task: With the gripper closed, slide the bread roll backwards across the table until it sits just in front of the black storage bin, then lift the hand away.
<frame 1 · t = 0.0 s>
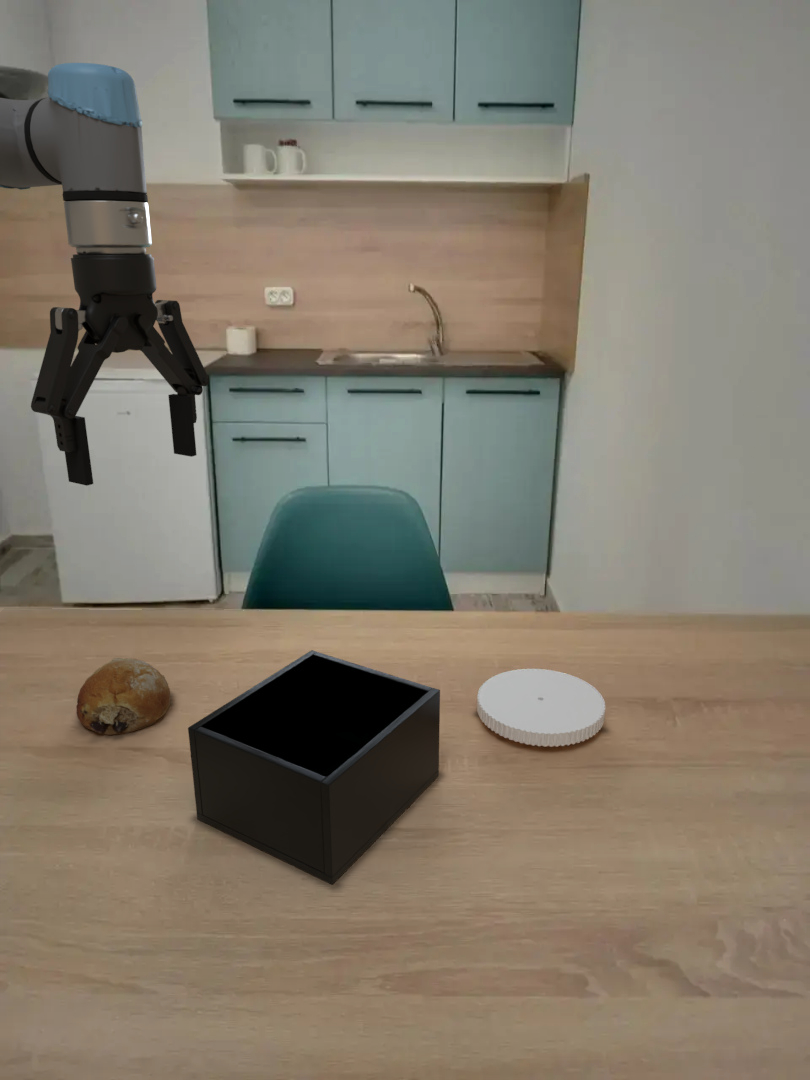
hand: (136, 468, 86), 28 cm above the table, tool pointing down, fingers open, 13 cm apart
plastic lid: (539, 720, 93), on the table
black storage bin: (322, 797, 80), on the table
bread roll: (125, 715, 94), on the table
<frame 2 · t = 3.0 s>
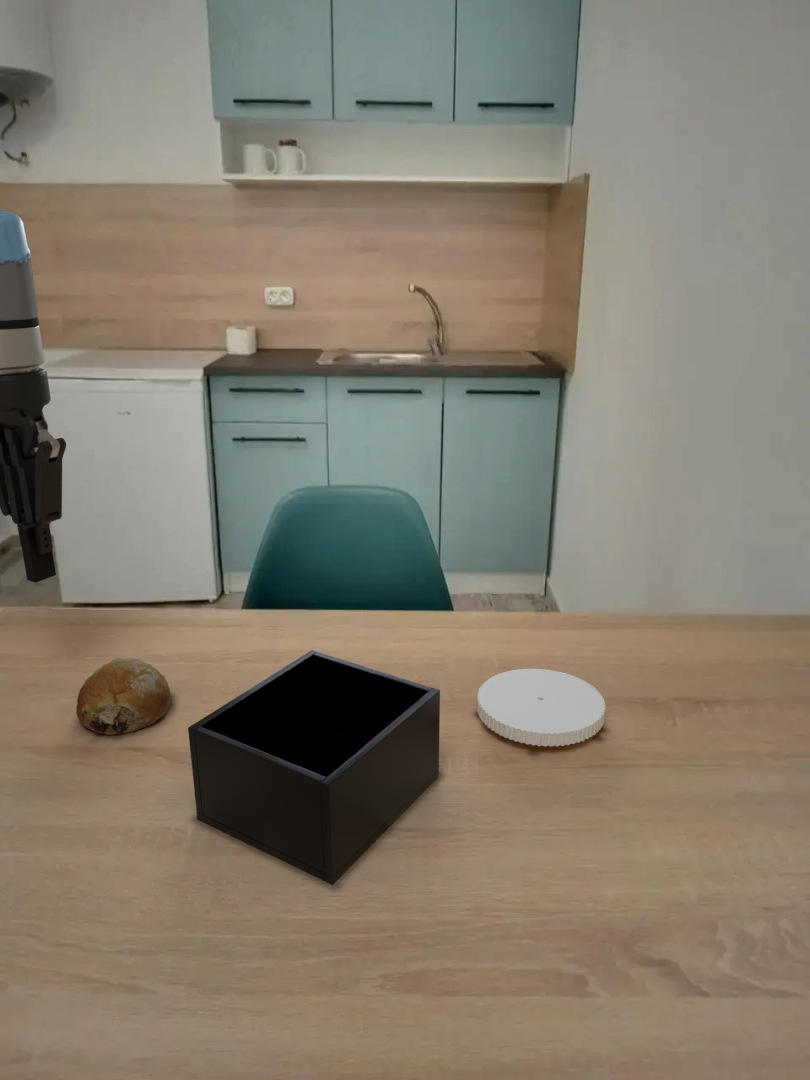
hand: (41, 577, 95), 14 cm above the table, tool pointing down, fingers closed
nothing on the table moved.
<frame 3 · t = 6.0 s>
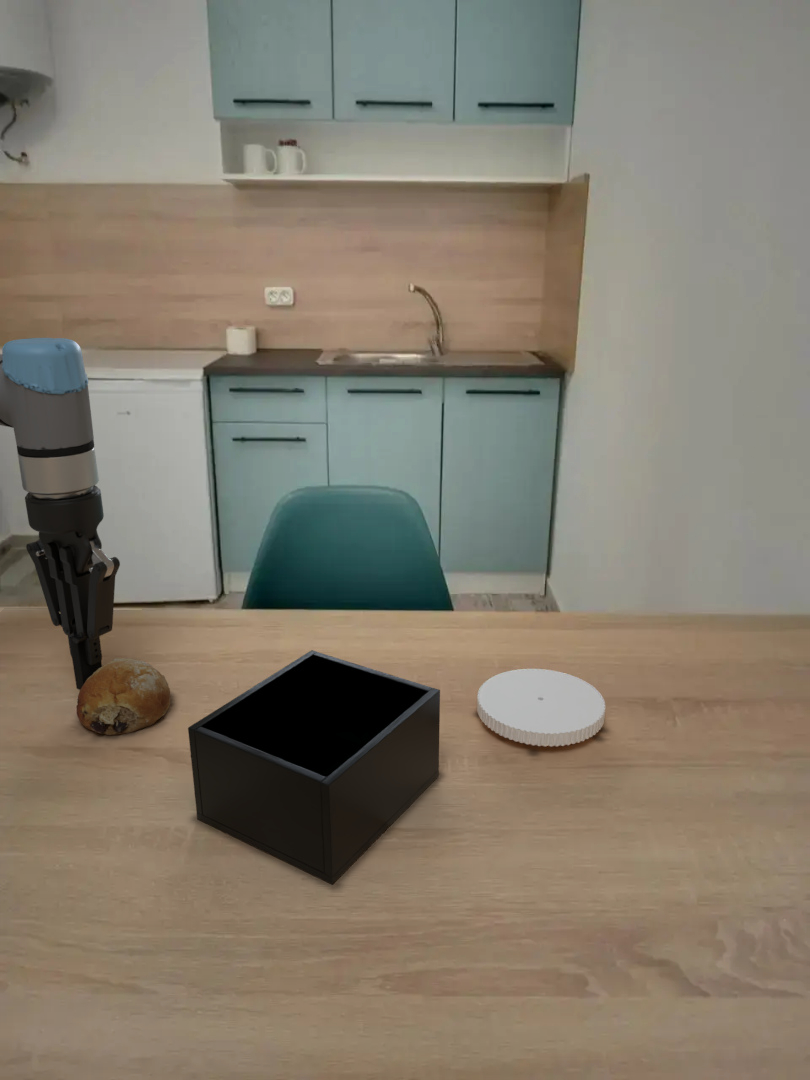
hand: (90, 685, 96), 2 cm above the table, tool pointing down, fingers closed
bread roll: (125, 715, 94), on the table, touching gripper
everything else where it was.
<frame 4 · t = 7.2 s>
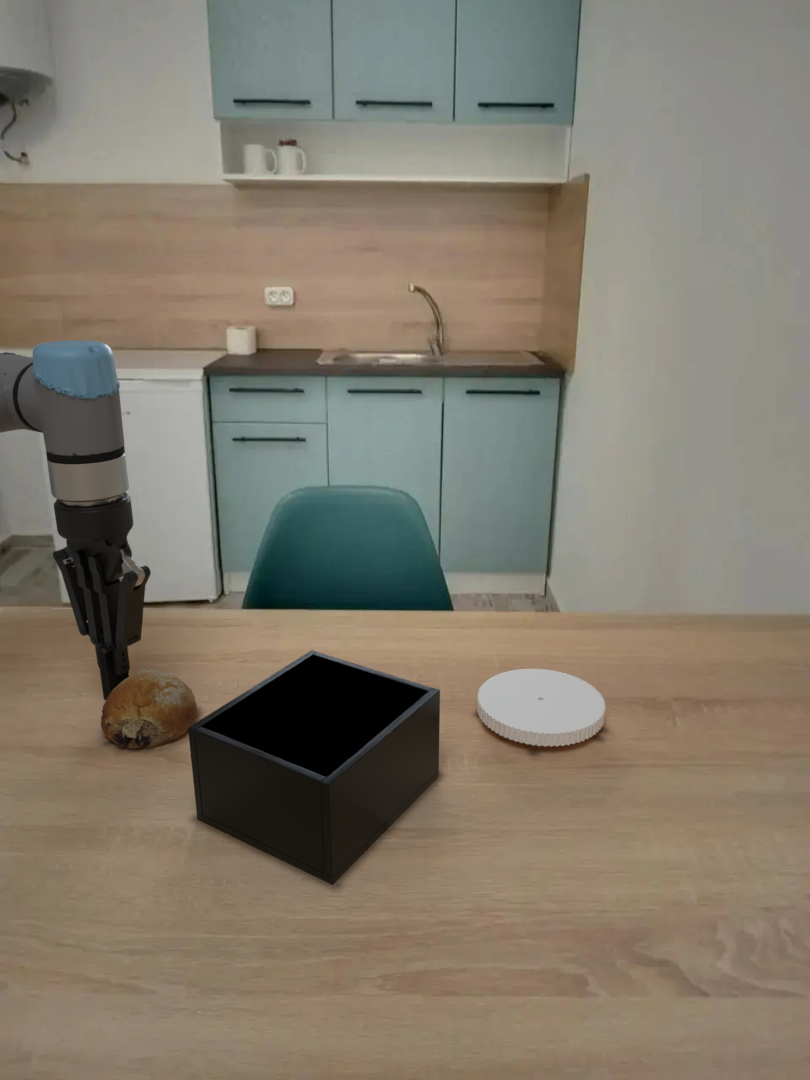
hand: (117, 695, 93), 2 cm above the table, tool pointing down, fingers closed
bread roll: (150, 728, 91), on the table, touching gripper
everything else where it was.
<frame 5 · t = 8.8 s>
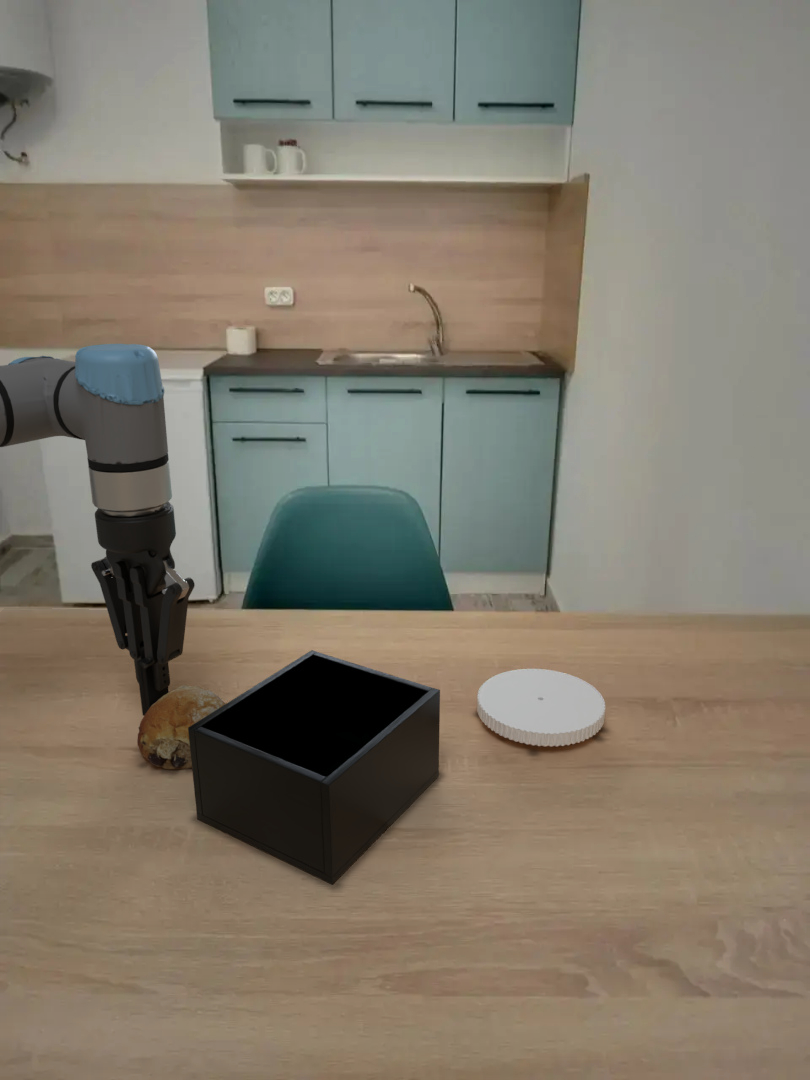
hand: (156, 711, 90), 2 cm above the table, tool pointing down, fingers closed
bread roll: (188, 747, 88), on the table, touching gripper
everything else where it was.
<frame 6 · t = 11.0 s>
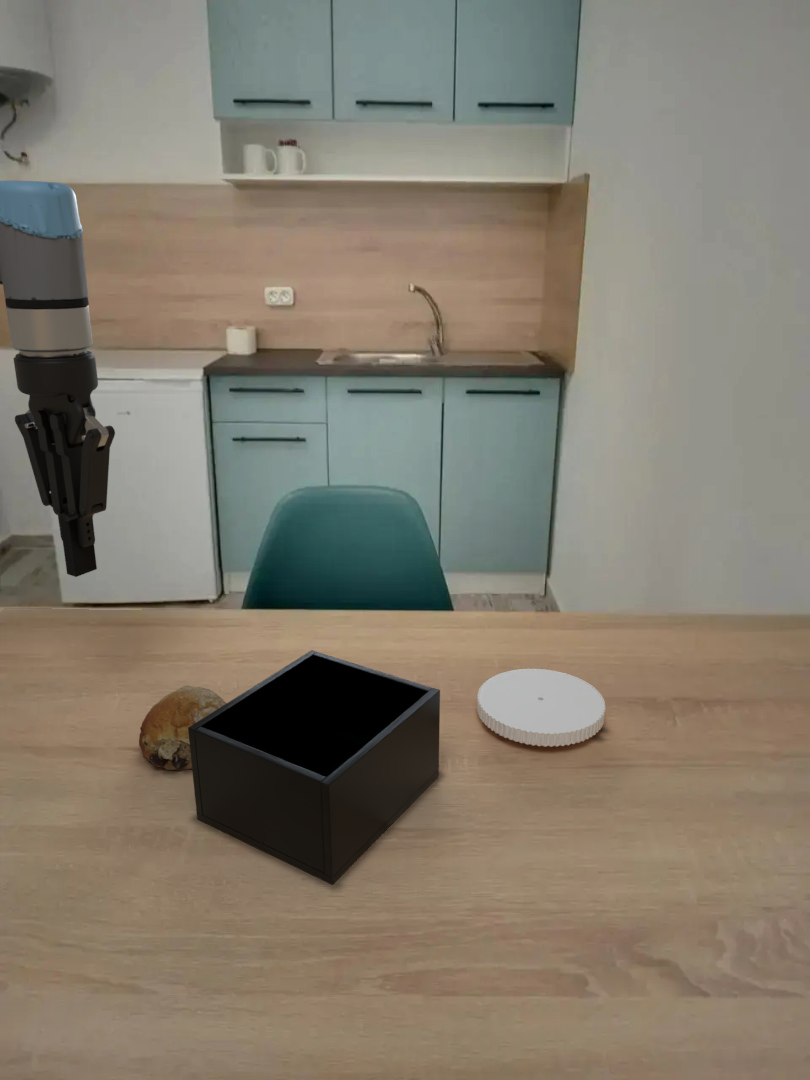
hand: (82, 571, 90), 16 cm above the table, tool pointing down, fingers closed
bread roll: (190, 748, 88), on the table
everything else where it was.
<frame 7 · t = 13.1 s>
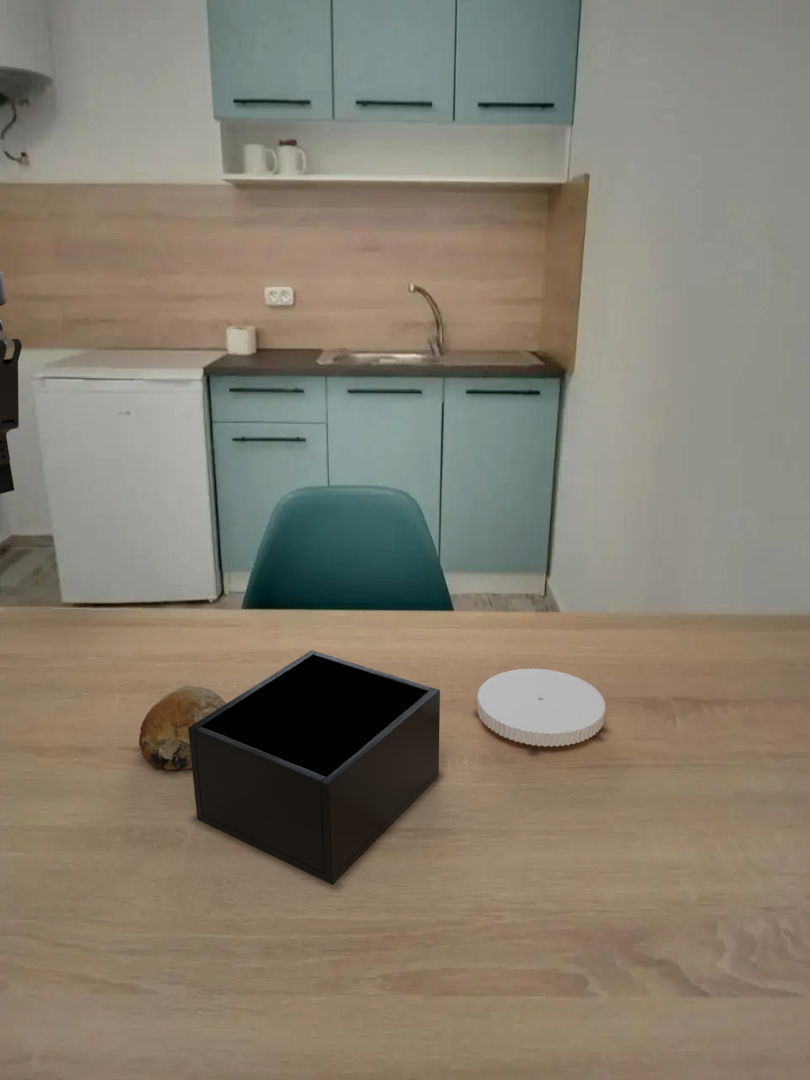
nothing on the table moved.
at the end: bread roll inside the target area on the table beside the black storage bin (1.2 cm from its centre), on the table; bread roll moved 11.0 cm from its start; the gripper is holding nothing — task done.
